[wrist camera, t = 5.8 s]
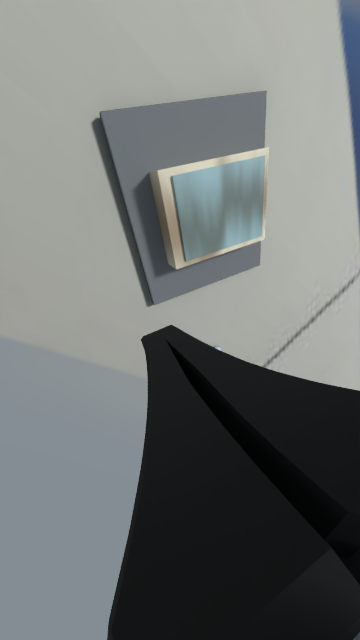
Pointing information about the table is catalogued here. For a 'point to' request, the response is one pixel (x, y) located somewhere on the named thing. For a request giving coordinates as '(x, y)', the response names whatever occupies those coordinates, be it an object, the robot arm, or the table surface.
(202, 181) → the birch framed mirror
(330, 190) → the table surface
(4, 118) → the table surface
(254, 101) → the rubber mat
